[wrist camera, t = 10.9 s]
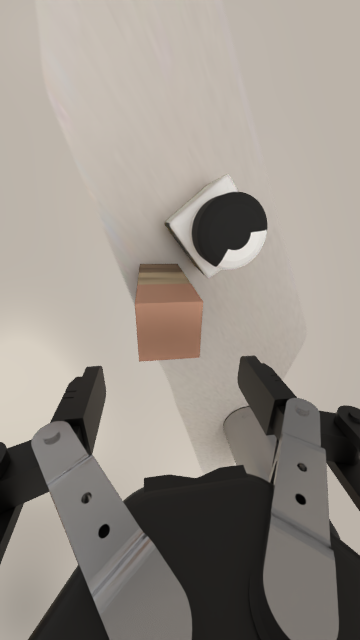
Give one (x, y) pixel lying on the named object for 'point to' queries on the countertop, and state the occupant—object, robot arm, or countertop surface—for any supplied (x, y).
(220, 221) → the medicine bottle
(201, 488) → the robot arm
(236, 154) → the countertop surface
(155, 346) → the clay block
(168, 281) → the tower top
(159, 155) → the countertop surface
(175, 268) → the tower bottom
